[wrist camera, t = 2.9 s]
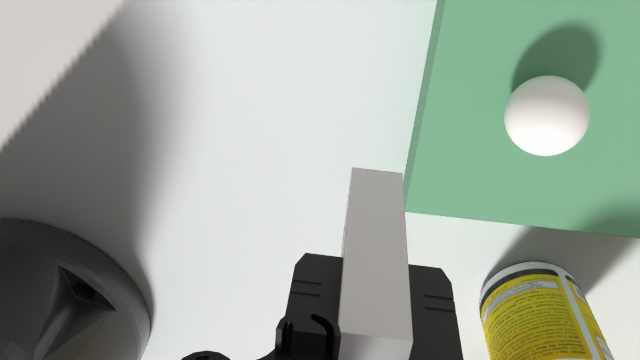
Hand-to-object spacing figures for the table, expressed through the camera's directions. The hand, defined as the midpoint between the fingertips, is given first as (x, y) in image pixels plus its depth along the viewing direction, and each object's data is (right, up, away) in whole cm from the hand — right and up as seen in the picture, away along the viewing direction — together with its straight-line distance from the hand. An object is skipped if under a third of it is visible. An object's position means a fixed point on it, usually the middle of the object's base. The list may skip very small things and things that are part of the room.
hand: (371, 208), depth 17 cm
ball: (+8, +4, +7) cm, 12 cm away
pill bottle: (+11, -6, +19) cm, 23 cm away
